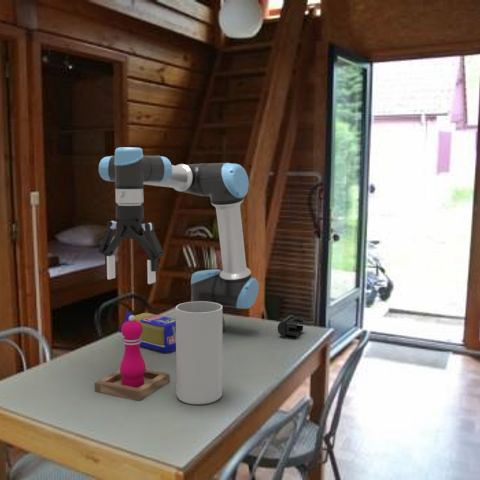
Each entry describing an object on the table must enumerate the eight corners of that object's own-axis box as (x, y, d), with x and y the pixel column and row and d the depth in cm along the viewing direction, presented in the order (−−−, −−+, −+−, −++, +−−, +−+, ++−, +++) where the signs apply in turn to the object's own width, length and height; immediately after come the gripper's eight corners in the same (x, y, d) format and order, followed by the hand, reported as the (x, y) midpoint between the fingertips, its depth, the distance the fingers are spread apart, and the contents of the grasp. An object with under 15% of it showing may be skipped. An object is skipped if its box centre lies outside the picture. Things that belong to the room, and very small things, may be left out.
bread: (165, 355, 183) (165, 325, 182) (117, 341, 198) (116, 313, 197) (186, 348, 191) (186, 319, 190) (138, 334, 206) (138, 307, 205)
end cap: (285, 330, 212) (285, 313, 211) (303, 333, 209) (303, 315, 208) (277, 338, 203) (277, 320, 202) (295, 340, 200) (295, 322, 199)
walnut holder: (127, 373, 166) (127, 365, 166) (169, 381, 160) (169, 373, 160) (94, 391, 153) (94, 382, 152) (139, 401, 147) (139, 392, 146)
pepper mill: (136, 377, 161) (135, 310, 159) (151, 383, 156) (150, 315, 154) (115, 383, 156) (113, 315, 154) (129, 390, 151) (128, 320, 149)
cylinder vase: (179, 386, 156) (179, 301, 153) (223, 387, 156) (223, 301, 153) (173, 405, 144) (172, 312, 141) (220, 406, 144) (220, 313, 141)
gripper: (84, 203, 152) (86, 279, 154) (160, 206, 141) (161, 287, 144) (101, 202, 158) (103, 274, 161) (176, 205, 148) (176, 282, 151)
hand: (131, 280), depth 153 cm, fingers open, 13 cm apart
